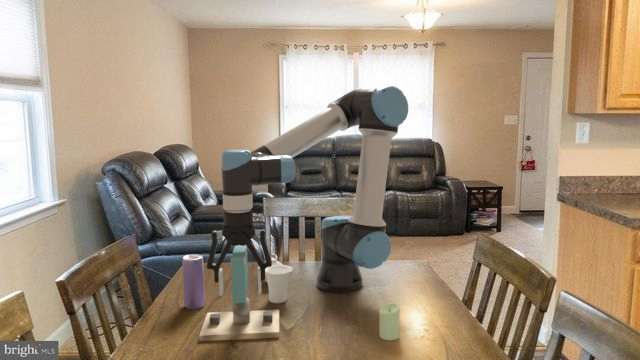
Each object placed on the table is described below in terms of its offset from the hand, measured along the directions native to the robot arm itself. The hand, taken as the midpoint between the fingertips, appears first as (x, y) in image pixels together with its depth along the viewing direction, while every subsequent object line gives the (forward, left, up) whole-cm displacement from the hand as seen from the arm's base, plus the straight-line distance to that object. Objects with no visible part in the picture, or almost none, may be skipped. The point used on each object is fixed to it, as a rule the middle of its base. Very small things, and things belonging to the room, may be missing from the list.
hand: (240, 292), depth 127 cm
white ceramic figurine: (-8, -34, -10) cm, 36 cm away
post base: (0, 0, -10) cm, 10 cm away
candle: (-38, +9, -10) cm, 40 cm away
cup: (-10, -18, -10) cm, 23 cm away
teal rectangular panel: (0, 0, -2) cm, 2 cm away
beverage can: (+15, -16, -10) cm, 24 cm away
